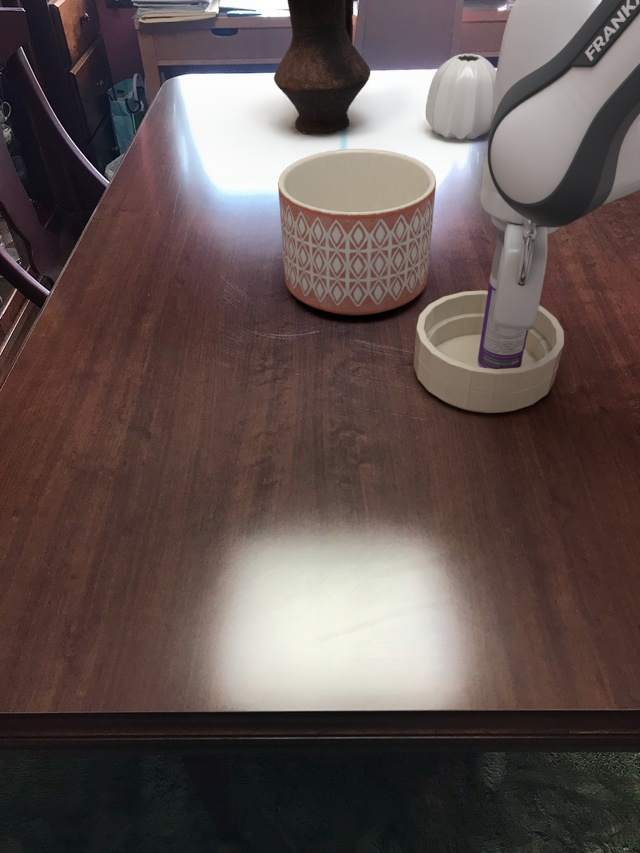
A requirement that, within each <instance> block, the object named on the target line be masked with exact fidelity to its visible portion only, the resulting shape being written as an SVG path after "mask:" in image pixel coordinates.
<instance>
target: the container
mask: <svg viewBox="0 0 640 853" xmlns="http://www.w3.org/2000/svg"><path fill="white" fill-rule="evenodd" d="M504 235H505V232H504V231H501V230H500V231H499V232H498V233H497V238H496V243H495V247H494V248H495V249H494V254H493V259H492V265H491V270H490V276H489V281H488V288H487V291H488V294H487V301H486V307H485V314H484V321H483V327H482V334H481V341H480V347H479V354H478V365H479V367H482V368H490V369H507V368H519V367H521V363H522V358H523V354H524V349H525V344H526V339H527V334H528V330H518V332H517V335H516V336H514V337H508V336H501V335H500V334H499V327H497V326H495V324H494V320H493V317H494V304H495V294H496V283H497V274H498V268H499V263H500V257H501V251H502V246H503V247H504Z"/></svg>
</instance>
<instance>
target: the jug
mask: <svg viewBox="0 0 640 853" xmlns="http://www.w3.org/2000/svg"><path fill="white" fill-rule="evenodd" d="M286 1H287V6H288V11H289V19H290V25H291V32H292V33H291V34H292V36H291V41H290V45H289V47H288V49H287V51H286V53H285V54H284V56H283V57H282V59H281V61H280V62H279V63H278V66H277V68H276V70H275V73H274V76H273V81H274V83H275V85H276V86H277V88H278V89H280V91H281V92H282V93H283V94H284V95H285V96H286V97H287V98H288V100H289V101H290V103H292V105H293V106H294V108H295V110H296V111H297V114H298V116H297V117H296V119H295V122H294V127H295V129H296V130H297V131H298V132H299V133H302V134H303V133H304V134H307V135H309V134H311V135H330V134H334V133H337V132H342V131H344V130H346V129H348V128H349V127H350V124H351V123H350V118H349V115H348V110H349V109H350V106H351V105H352V103H353V102H354V101H355V99H356V97H357V96H358V94H359V93H360V92H361V91H362V90H363V88H364V87H365V86H366V84H367V83H368V81H369V80H370V76H371V69H370V66H369V64H368V63H367V62H366V61H365V59H364V57H363V56H362V55H361V54H360V53H359V51H358V50H357V49H356V47H355V46H354V44H353V41H354V21H353V20H354V19H353V17H354V0H286Z"/></svg>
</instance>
